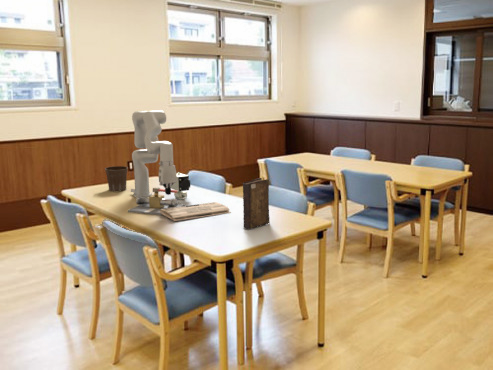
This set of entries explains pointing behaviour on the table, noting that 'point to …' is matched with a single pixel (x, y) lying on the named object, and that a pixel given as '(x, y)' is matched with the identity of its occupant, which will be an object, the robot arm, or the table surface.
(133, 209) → the board
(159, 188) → the lever
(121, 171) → the plant pot
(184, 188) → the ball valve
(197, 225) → the table surface
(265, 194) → the book
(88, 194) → the table surface
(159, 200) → the valve body
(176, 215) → the newspaper
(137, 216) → the table surface
